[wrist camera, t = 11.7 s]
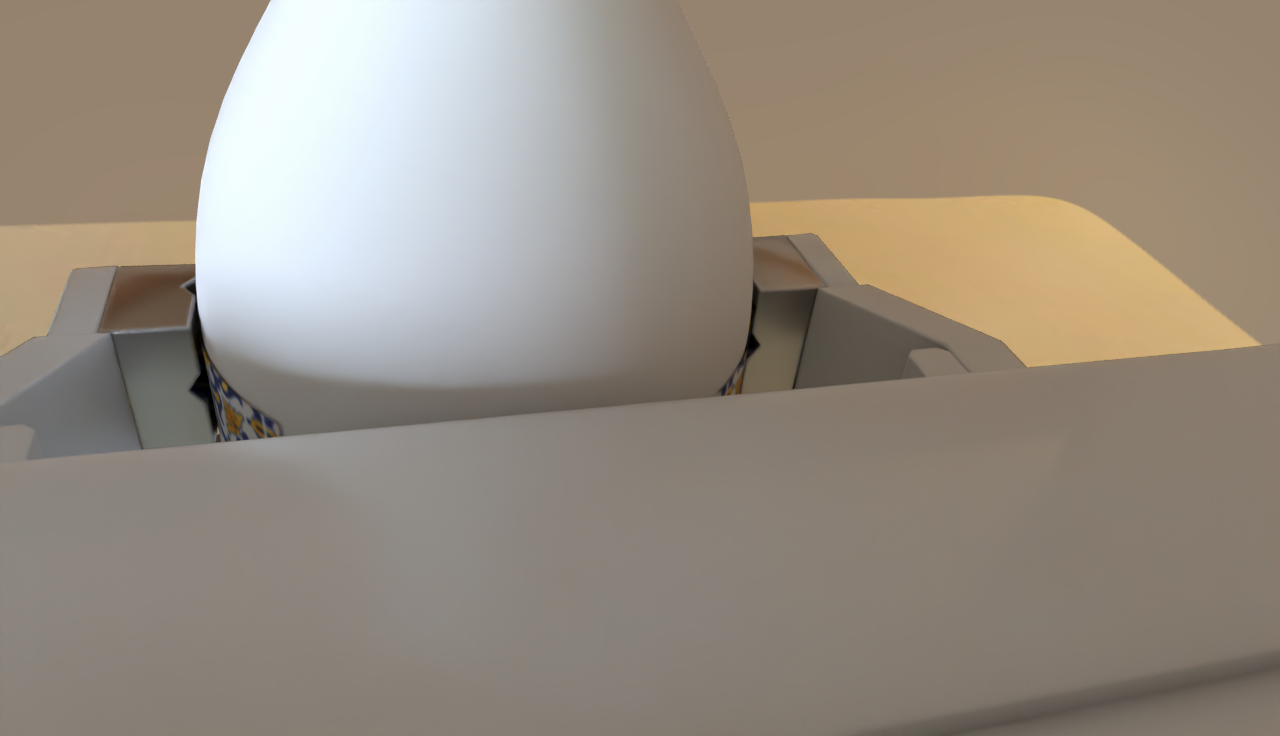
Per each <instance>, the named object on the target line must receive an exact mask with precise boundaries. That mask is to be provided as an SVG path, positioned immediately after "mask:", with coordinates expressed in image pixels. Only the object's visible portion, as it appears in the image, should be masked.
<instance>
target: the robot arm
mask: <svg viewBox="0 0 1280 736" xmlns="http://www.w3.org/2000/svg"><path fill="white" fill-rule="evenodd" d="M752 239H753V293H752V306H751V332H750V339H749V344H748V349H747V354H746V360H745V365H744V370H743V375H742V380H741V385H740V391H739V394H738V395H728V396H717V397H706V398H695V399H685V400H674V401H663V402H652V403H642V404H631V405H620V406H609V407H598V408H588V409H577V410H566V411H555V412H544V413H533V414H522V415H511V416H501V417H490V418H479V419H468V420H457V421H446V422H435V423H424V424H414V425H403V426H392V427H381V428H370V429H359V430H348V431H337V432H327V433H316V434H305V435H294V436H283V437H272V438H261V439H250V440H240V441H229V442H218V443H216V436H217V428H218V424H217V419H216V414H215V409H214V404H213V399H212V394H211V389H210V385H209V380H208V375H207V370H206V365H205V360H204V355H203V350H202V346H203V349H204V344H203V338H202V332H201V325H200V319H199V312H198V303H197V290H196V264H182V265H149V266H121V267H118V266H105V267H90V268H77V269H74V270H72V271H71V272H70V275H69V277H68V280H67V283H66V285H65V288H64V291H63V293H62V296H61V299H60V301H59V304H58V307H57V309H56V312H55V315H54V317H53V320H52V323H51V325H50V328H49V331H48V333H47V336H42V337H33V338H31V339H30V340H28V341H26V342H25V343H23V344H21V345H20V346H18V347H16V348H14V349H13V350H11V351H9V352H8V353H6V354H4V355H3V356H1V357H0V736H1280V344H1271V345H1262V346H1253V347H1243V348H1234V349H1224V350H1214V351H1203V352H1192V353H1181V354H1170V355H1159V356H1148V357H1137V358H1126V359H1115V360H1104V361H1093V362H1083V363H1072V364H1061V365H1050V366H1040V367H1029V368H1027V367H1026V366H1025V364H1024V363H1023V362H1022V361H1021V360H1020V359H1019V358H1018V357H1017V356H1016V355H1015V354H1014V353H1013V352H1012V351H1011V350H1010V349H1009V348H1008V347H1007V346H1006V345H1005V344H1004V343H1003V342H1002V341H1001V340H998V339H996V338H994V337H991V336H989V335H987V334H984V333H982V332H979V331H977V330H975V329H972V328H970V327H968V326H965V325H963V324H961V323H958V322H956V321H953V320H951V319H949V318H946V317H944V316H942V315H939V314H937V313H935V312H932V311H930V310H927V309H925V308H923V307H920V306H918V305H916V304H913V303H911V302H909V301H906V300H904V299H901V298H899V297H897V296H894V295H892V294H890V293H887V292H885V291H883V290H880V289H878V288H875V287H873V286H871V285H859V284H858V283H857V282H856V281H855V279H854V278H853V277H852V276H851V275H850V273H849V272H848V271H847V270H846V269H845V267H844V266H843V265H842V264H841V263H840V262H839V260H838V259H837V258H836V257H835V256H834V254H833V253H832V252H831V251H830V250H829V248H828V247H827V246H826V245H825V244H824V243H823V241H822V240H821V239H820V238H819V237H818V236H817V235H814V234H812V233H807V234H797V235H786V236H785V235H781V236H767V237H754V238H752ZM199 335H200V336H199ZM201 343H202V345H201Z"/></svg>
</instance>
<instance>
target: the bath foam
mask: <svg viewBox="0 0 1280 736" xmlns="http://www.w3.org/2000/svg"><path fill="white" fill-rule="evenodd" d="M195 262H196V290H197V303H198V312H199V319H200V325H201V332H202V338H203V344H204V349H203V346H202V350H203V355H204V360H205V365H206V370H207V375H208V380H209V385H210V389H211V394H212V399H213V404H214V409H215V414H216V419H217V424H218V429H219V434H220V439H221V442H229V441H240V440H250V439H261V438H272V437H283V436H294V435H305V434H316V433H327V432H337V431H348V430H359V429H370V428H381V427H392V426H403V425H414V424H424V423H435V422H446V421H457V420H468V419H479V418H490V417H501V416H511V415H522V414H533V413H544V412H555V411H566V410H577V409H588V408H598V407H609V406H620V405H631V404H642V403H652V402H663V401H674V400H685V399H695V398H706V397H717V396H728V395H738V394H739V391H740V385H741V380H742V375H743V370H744V365H745V360H746V354H747V349H748V344H749V339H750V332H751V306H752V293H753V239H752V225H751V215H750V206H749V197H748V191H747V186H746V181H745V176H744V171H743V166H742V161H741V156H740V153H739V150H738V147H737V143H736V140H735V136H734V133H733V129H732V126H731V123H730V120H729V117H728V114H727V112H726V109H725V106H724V104H723V101H722V98H721V96H720V93H719V91H718V88H717V85H716V83H715V80H714V78H713V76H712V73H711V71H710V69H709V66H708V64H707V62H706V60H705V57H704V55H703V53H702V50H701V48H700V46H699V44H698V42H697V39H696V37H695V35H694V33H693V31H692V29H691V26H690V24H689V22H688V20H687V18H686V16H685V14H684V11H683V9H682V7H681V5H680V3H679V1H678V0H271V1H270V3H269V5H268V7H267V9H266V11H265V13H264V14H263V16H262V18H261V20H260V22H259V24H258V26H257V28H256V30H255V32H254V34H253V36H252V38H251V40H250V42H249V44H248V46H247V48H246V50H245V52H244V54H243V56H242V58H241V60H240V63H239V65H238V67H237V69H236V72H235V74H234V76H233V79H232V81H231V83H230V86H229V88H228V90H227V93H226V95H225V97H224V100H223V103H222V106H221V109H220V112H219V115H218V118H217V121H216V124H215V127H214V130H213V133H212V136H211V139H210V144H209V148H208V152H207V157H206V161H205V166H204V170H203V175H202V180H201V187H200V196H199V204H198V211H197V224H196V245H195ZM199 336H200V335H199ZM201 345H202V343H201Z"/></svg>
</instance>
